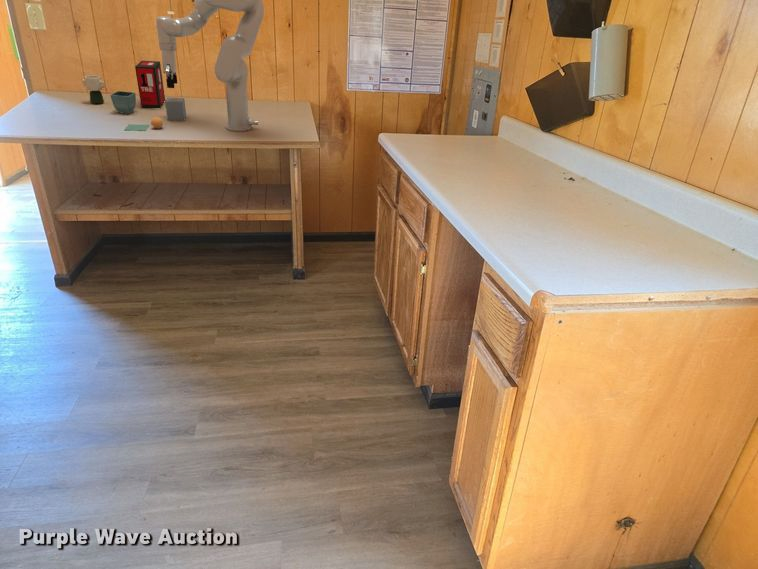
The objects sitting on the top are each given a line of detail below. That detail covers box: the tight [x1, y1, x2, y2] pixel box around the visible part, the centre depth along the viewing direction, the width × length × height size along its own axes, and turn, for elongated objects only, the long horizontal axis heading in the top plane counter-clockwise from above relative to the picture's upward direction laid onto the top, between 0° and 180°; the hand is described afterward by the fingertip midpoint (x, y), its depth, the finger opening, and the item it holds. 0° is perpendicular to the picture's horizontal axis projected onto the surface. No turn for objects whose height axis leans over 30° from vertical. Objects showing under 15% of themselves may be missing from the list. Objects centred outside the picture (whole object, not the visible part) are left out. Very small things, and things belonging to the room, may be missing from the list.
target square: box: [123, 123, 150, 132], centre depth 240 cm, size 9×9×1 cm
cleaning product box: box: [134, 60, 166, 109], centre depth 270 cm, size 16×9×20 cm, turn 10°
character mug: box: [82, 74, 106, 104], centre depth 266 cm, size 11×7×13 cm, turn 88°
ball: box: [150, 116, 164, 129], centre depth 240 cm, size 5×5×5 cm
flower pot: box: [110, 90, 137, 115], centre depth 257 cm, size 9×9×9 cm
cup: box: [164, 97, 187, 122], centre depth 255 cm, size 8×8×9 cm
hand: (172, 85), depth 250 cm, fingers open, 9 cm apart
